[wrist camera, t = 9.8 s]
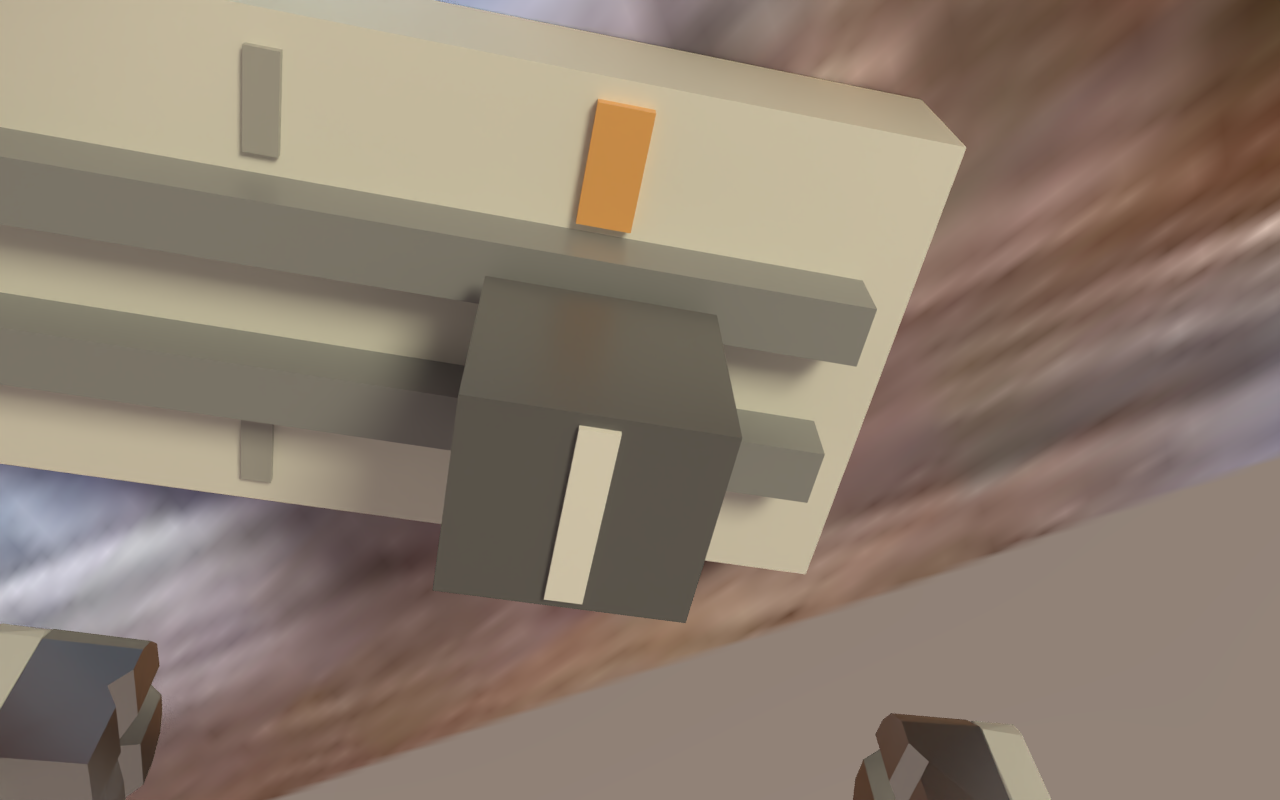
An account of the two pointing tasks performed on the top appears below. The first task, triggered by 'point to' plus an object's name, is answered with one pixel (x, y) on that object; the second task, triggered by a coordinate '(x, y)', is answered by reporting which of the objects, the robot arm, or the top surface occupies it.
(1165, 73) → the top surface
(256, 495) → the fader console
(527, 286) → the fader tab
